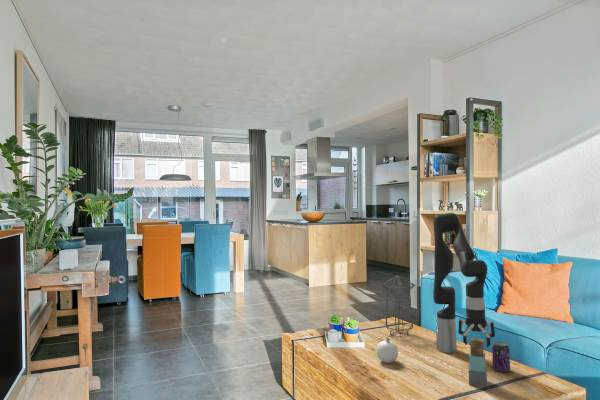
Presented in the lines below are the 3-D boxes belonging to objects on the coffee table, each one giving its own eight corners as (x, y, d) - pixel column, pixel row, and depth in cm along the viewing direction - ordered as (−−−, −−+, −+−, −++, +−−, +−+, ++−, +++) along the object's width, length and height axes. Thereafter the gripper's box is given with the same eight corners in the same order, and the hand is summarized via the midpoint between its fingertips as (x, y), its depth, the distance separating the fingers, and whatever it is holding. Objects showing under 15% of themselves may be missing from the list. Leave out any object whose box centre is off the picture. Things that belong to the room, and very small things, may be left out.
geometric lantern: (396, 329, 259) (395, 273, 260) (418, 334, 246) (416, 275, 247) (380, 334, 248) (378, 276, 250) (402, 340, 236) (400, 278, 237)
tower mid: (469, 370, 175) (469, 355, 176) (470, 365, 181) (469, 351, 181) (485, 372, 173) (484, 357, 173) (485, 367, 178) (484, 353, 179)
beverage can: (500, 374, 185) (499, 347, 185) (489, 368, 192) (488, 342, 192) (513, 372, 187) (512, 345, 187) (502, 366, 194) (501, 340, 194)
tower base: (469, 385, 175) (468, 370, 175) (469, 378, 181) (468, 364, 182) (487, 387, 172) (486, 372, 172) (487, 380, 179) (486, 366, 179)
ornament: (398, 366, 198) (397, 340, 198) (376, 365, 200) (376, 340, 200) (398, 358, 208) (397, 334, 208) (377, 357, 210) (376, 333, 210)
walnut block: (470, 355, 176) (470, 341, 176) (470, 351, 180) (470, 337, 181) (483, 356, 174) (483, 342, 174) (483, 353, 179) (482, 339, 179)
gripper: (457, 308, 177) (458, 346, 177) (494, 310, 172) (495, 349, 171) (457, 304, 184) (459, 341, 184) (493, 306, 178) (494, 344, 178)
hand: (476, 345), depth 177 cm, fingers open, 8 cm apart
